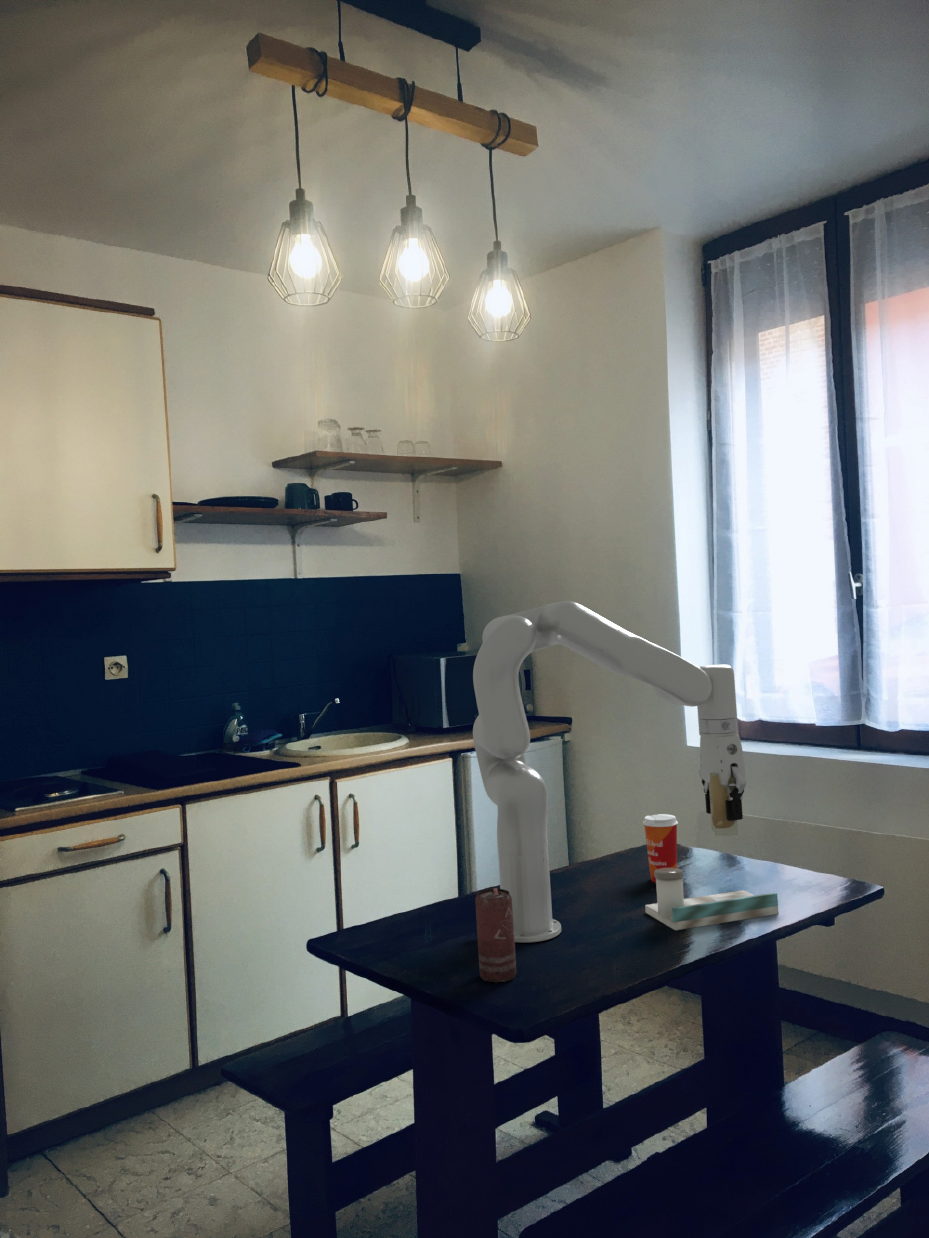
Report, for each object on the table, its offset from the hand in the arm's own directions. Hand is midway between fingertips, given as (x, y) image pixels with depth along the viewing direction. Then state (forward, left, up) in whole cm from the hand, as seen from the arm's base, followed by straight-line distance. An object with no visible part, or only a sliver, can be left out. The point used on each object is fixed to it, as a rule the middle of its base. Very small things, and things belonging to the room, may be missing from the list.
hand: (724, 815), depth 186 cm
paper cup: (-2, +23, -18) cm, 29 cm away
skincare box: (0, 0, -3) cm, 3 cm away
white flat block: (-5, -2, -18) cm, 19 cm away
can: (-53, -16, -18) cm, 59 cm away
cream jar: (-14, -3, -16) cm, 22 cm away
